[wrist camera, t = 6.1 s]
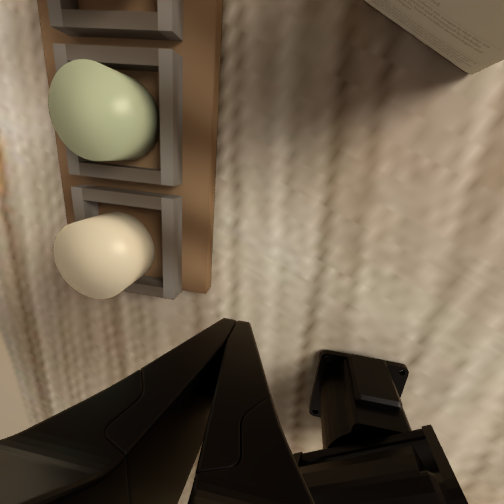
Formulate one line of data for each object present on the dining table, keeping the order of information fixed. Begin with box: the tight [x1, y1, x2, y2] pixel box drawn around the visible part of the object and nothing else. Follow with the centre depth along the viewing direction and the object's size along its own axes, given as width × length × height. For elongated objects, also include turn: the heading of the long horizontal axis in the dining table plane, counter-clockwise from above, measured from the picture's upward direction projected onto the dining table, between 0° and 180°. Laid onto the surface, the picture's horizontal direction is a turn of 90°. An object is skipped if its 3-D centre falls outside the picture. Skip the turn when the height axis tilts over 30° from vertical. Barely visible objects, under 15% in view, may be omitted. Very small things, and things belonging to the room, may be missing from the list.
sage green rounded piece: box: [48, 59, 160, 161], centre depth 16 cm, size 5×5×3 cm
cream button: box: [53, 212, 155, 299], centre depth 18 cm, size 5×5×3 cm
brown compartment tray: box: [37, 0, 223, 300], centre depth 18 cm, size 23×11×3 cm, turn 175°
